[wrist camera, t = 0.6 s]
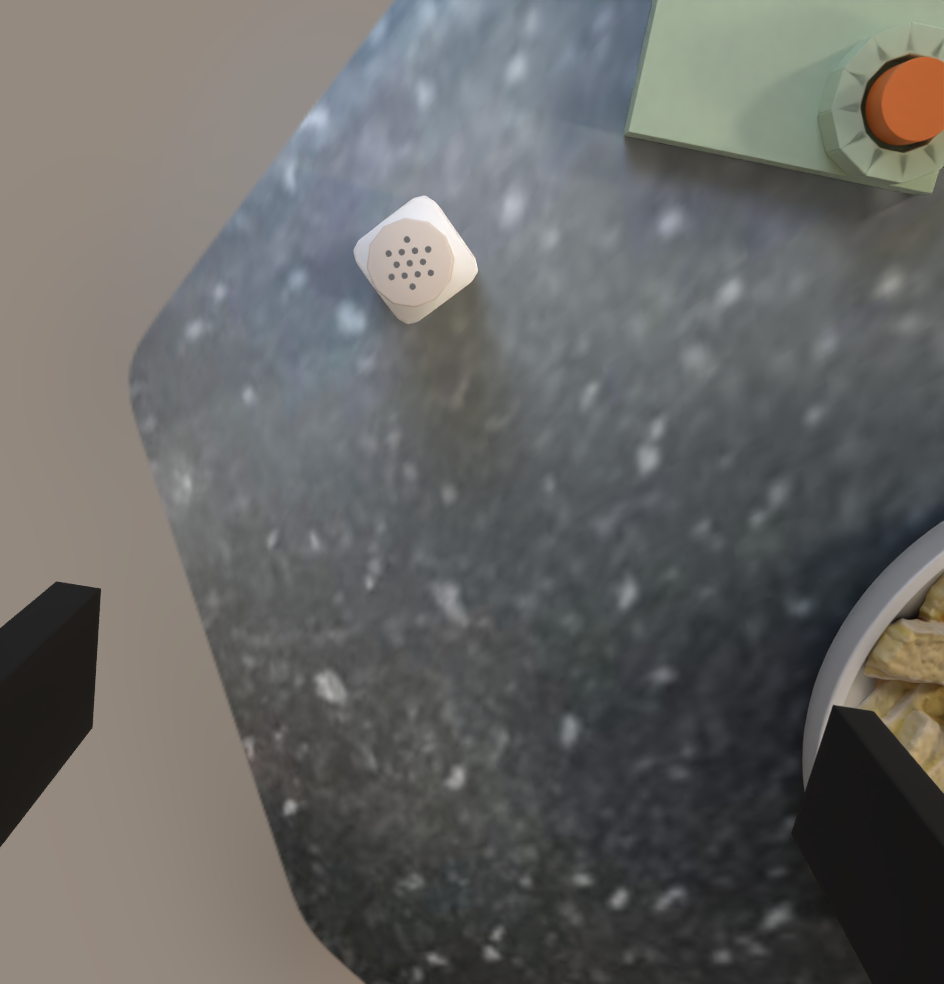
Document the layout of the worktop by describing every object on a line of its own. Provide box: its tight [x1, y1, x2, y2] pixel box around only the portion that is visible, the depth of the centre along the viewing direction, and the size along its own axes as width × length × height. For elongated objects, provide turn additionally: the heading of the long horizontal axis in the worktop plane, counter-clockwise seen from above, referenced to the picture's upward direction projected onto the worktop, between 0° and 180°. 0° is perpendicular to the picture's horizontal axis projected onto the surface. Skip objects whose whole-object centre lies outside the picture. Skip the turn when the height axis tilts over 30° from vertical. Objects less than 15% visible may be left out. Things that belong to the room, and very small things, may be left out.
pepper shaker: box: [353, 195, 478, 324], centre depth 37 cm, size 4×4×10 cm
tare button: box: [865, 57, 944, 146], centre depth 36 cm, size 3×3×2 cm
